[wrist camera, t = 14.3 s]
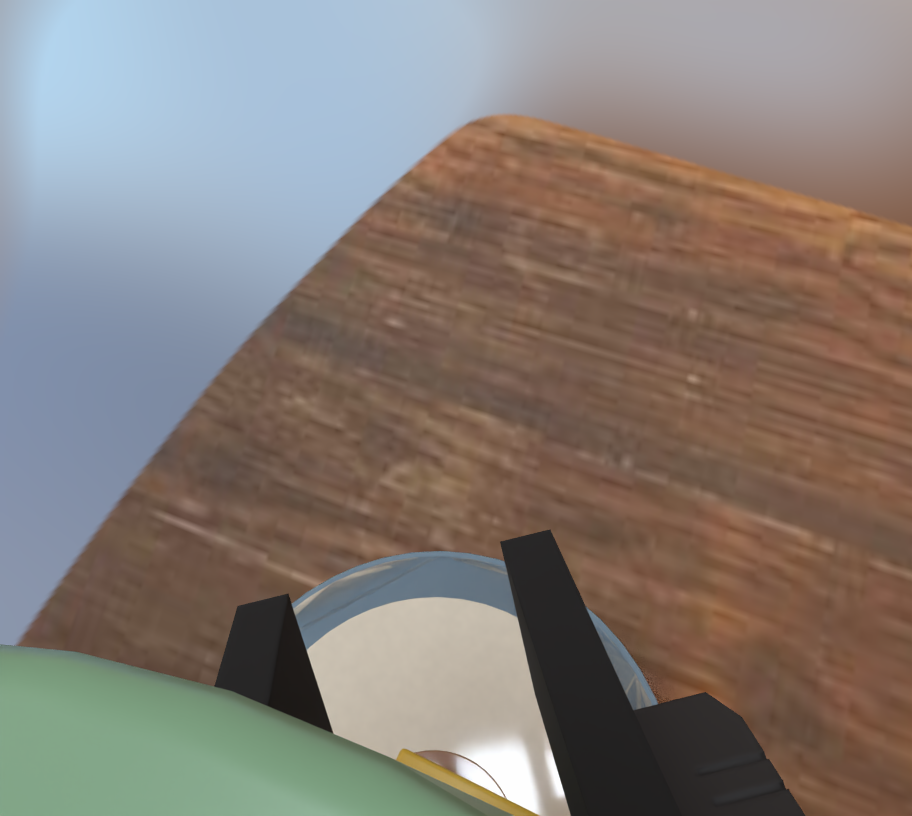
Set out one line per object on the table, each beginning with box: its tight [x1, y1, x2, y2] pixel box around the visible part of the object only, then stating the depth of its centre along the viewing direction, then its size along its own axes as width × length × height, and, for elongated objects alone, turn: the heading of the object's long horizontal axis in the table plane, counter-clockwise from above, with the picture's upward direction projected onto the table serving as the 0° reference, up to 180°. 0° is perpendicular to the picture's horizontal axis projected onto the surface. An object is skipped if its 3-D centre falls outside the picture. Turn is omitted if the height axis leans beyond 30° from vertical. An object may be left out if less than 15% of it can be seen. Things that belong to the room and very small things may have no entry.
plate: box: [292, 551, 658, 816], centre depth 25 cm, size 14×14×2 cm
